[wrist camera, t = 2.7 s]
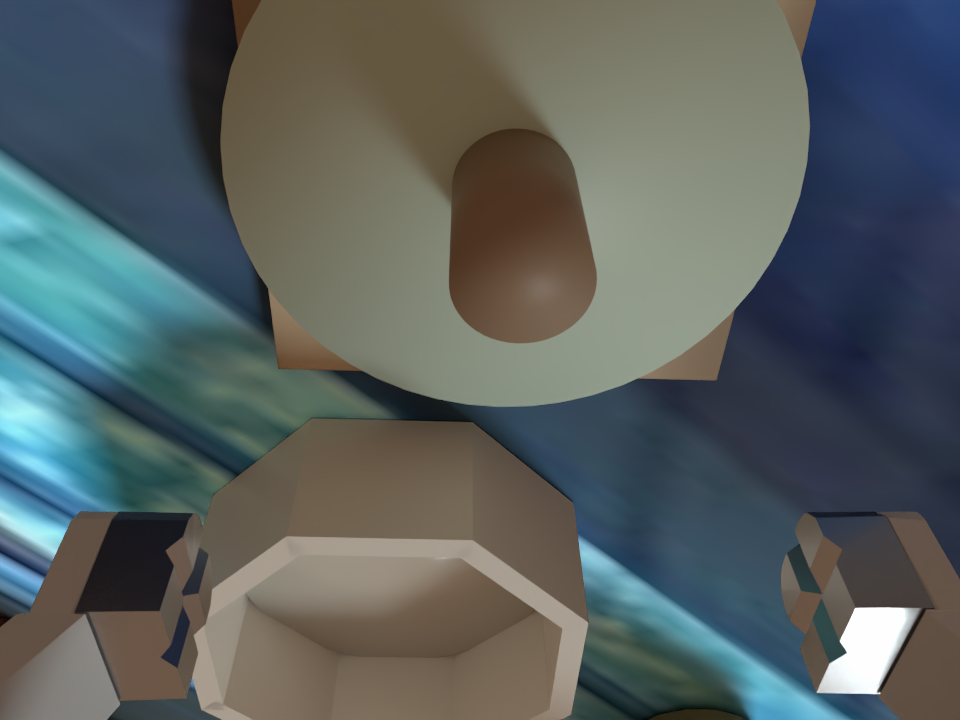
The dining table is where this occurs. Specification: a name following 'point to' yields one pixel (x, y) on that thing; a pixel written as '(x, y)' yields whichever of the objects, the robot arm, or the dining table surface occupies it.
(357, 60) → the lid
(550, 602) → the bowl
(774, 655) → the dining table surface
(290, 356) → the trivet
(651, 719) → the squeeze bottle
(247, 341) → the dining table surface
